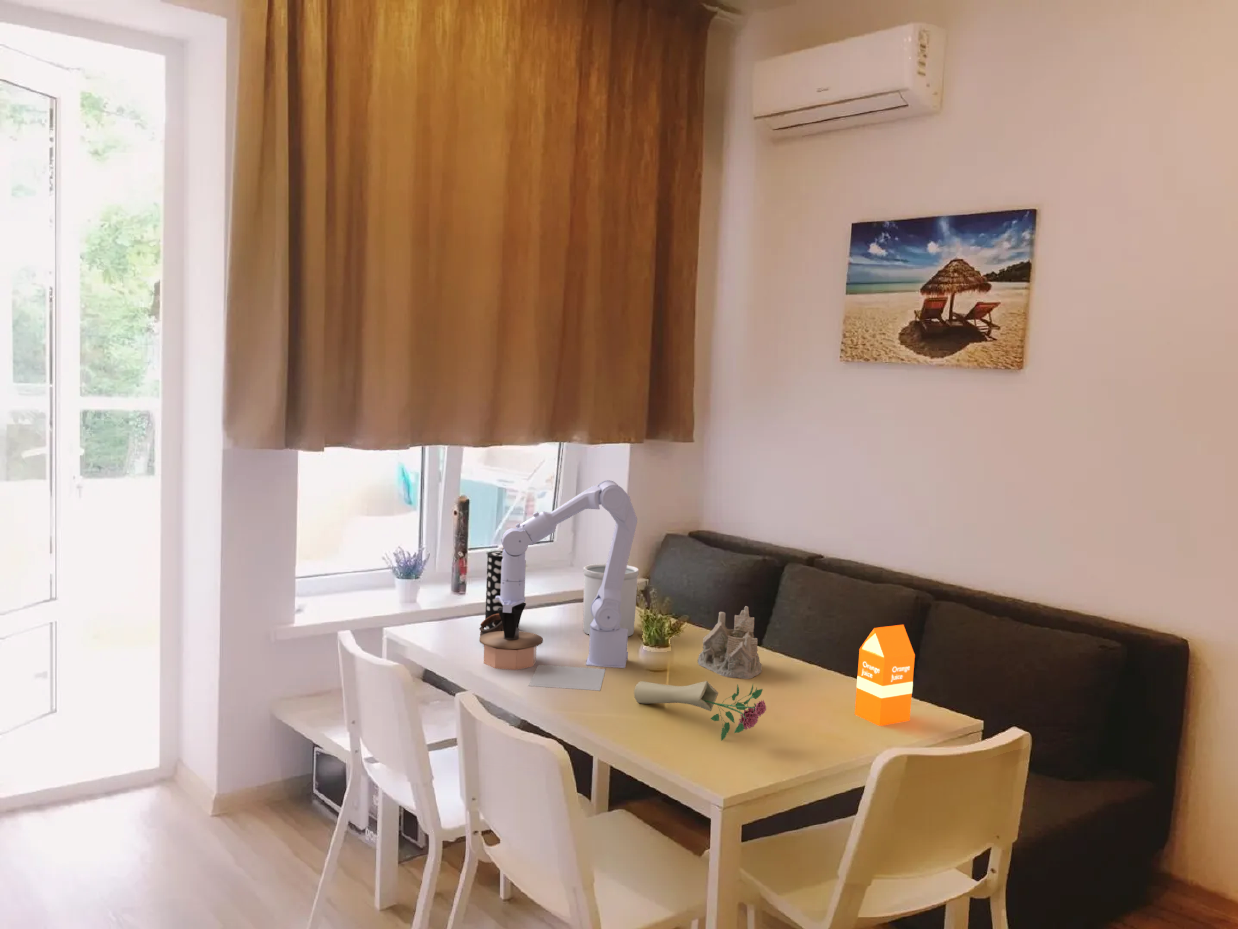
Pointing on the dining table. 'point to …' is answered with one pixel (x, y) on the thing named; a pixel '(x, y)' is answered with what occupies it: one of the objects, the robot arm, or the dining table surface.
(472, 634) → the dining table surface
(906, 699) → the orange juice
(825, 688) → the dining table surface
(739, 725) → the flower vase
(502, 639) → the walnut lid
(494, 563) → the white-spotted black cylinder
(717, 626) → the ceramic cottage
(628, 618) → the utensil holder
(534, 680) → the grey mat
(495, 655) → the terracotta bowl
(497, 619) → the brown openwork ring
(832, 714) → the dining table surface
